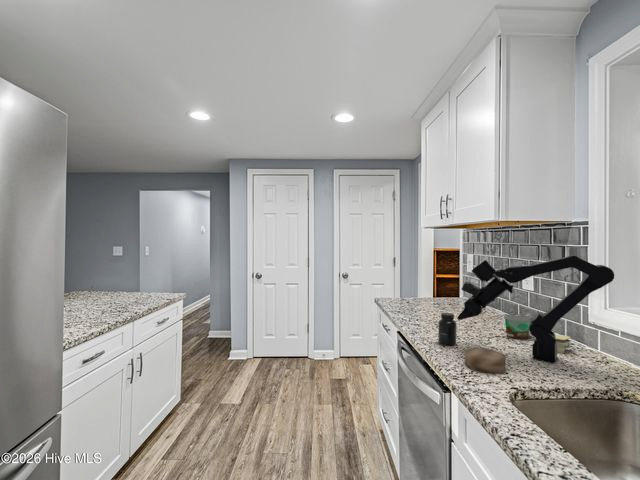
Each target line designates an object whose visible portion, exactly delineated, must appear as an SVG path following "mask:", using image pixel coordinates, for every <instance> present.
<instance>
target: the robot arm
mask: <svg viewBox="0 0 640 480" xmlns="http://www.w3.org/2000/svg"><path fill="white" fill-rule="evenodd" d="M570 268H573V269H575V270H577V271H579V272H582V273H584V274H585V275H584V276H583V278H582V280H581V281H580V283H579V284H578V285H576V286H575V288H573V289H572V290H571V291H570V292H568V294H567V295H565V296H564V297H563V298H562V299H561V300H559V302H557V303H556V304H555V305H554V306H553V307H551V308H550V309H549V310H547V312H544V313H543V314H542V312H541V311H538V312H537V313H536V315H534V316H533V317H532V318H531V321H530V325H529V334H531V336H532V337H533V338H535V339H534V341H533V343H532V347H531V348H532V353H531V354H532V359H533V360H537V361H543V362H545V363H546V362H547V363H551V364H556V362H557V361H559V360H560V359H559V357H558V352H557V342H556V337H555V335H556V334H555V333H554V332H553V329H554V327H555V326H556V324H557V323H558V321H559V320H561V319H562V318H563V317H564V316H565V315H567V313H569V312H570V311H571V310H573V309H574V308H575V307H576V306H577V305H578V304H580V303H581V302H582V301H583V300H584V299H585V298H586V297H588V296H589V295H590V294H591V293H592V292H595V291H597V290H599V289H601V288H603V287H605V286H607V285H608V284H610V283H612V282H613V281H614V279H615V272H614V271H613V269H612V268H611V267H608V266H606V265H602V264H593V263H591V262H589V261H586V260H584V259H582V258H580V257H579V256H577V255H574V254H571V255H568V256H564V257H560V258H556V259H551V260H547V261H543V262H538V263H534V264H524V265H509V266H508V267H506V268H505V269H500V268H499V269H496V268H494V267H493V266H492V265H491V264H490V263H489V261H488V260H487V259H485V260H483V261H482V262H481V263H479V264H478V265H476V266H475V267H474V268H473V269H471V273H473V274H474V275H475V276H476V278H477V279H479V280H480V281H481V282H482V283H483V282H485V283H487V284H486V285H485V286H482V287H479V286H478V285H475V284H474V283H471V282H469V281H465V282H464V284H463V285H462V287H461V291H463V292H465V293H468V294H470V295H471V297H469V298H468V299H467V300H466V301H465V302H464V303H463V305H464V308H463V310H462V311H461V312H460V314H459V315H458V316H457V318H456V319H457V320H458V321H461V320H462V321H463V320H465V319H468V318H473V317H477V316H479V315H481V314H482V312H483V310H484V309H486V308H487V306H489V305H491V303H493V302H494V301H495V300H496V299H498V297H500V296H502V294H504V293H505V292H506V291H508V292H509V293H510V294H513V293H514V284H516V283H519V282H521V281H523V280H527V279H529V278H531V277H533V276H536V275H541V274H542V275H543V274H548V273H551V272H556V271H561V270H565V269H566V270H567V269H570ZM491 279H492V280H491ZM490 280H491V281H490Z"/></svg>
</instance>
